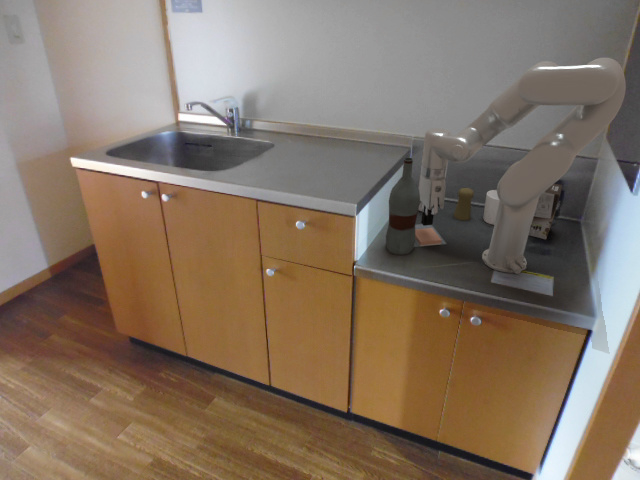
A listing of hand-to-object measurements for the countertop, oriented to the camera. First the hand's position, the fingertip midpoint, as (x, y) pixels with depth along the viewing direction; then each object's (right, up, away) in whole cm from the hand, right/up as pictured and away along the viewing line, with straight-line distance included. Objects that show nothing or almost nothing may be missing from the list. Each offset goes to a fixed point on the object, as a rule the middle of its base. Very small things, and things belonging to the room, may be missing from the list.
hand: (426, 224), depth 143 cm
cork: (+16, +3, +16) cm, 23 cm away
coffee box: (+39, -3, +7) cm, 40 cm away
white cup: (+27, +1, +14) cm, 30 cm away
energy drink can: (+4, +6, +21) cm, 22 cm away
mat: (0, -4, +5) cm, 6 cm away
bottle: (-9, -8, -2) cm, 13 cm away
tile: (-1, -2, +5) cm, 5 cm away
